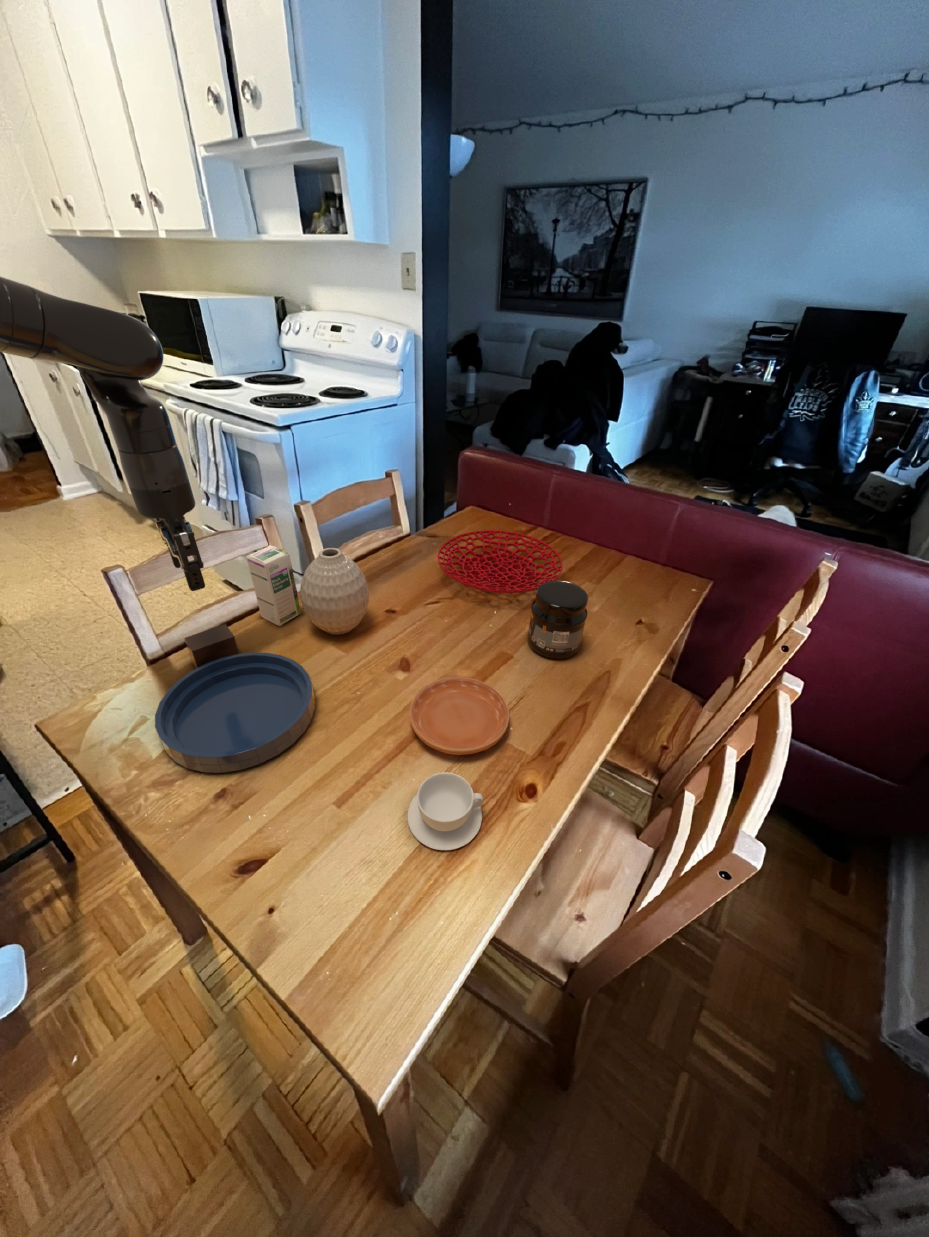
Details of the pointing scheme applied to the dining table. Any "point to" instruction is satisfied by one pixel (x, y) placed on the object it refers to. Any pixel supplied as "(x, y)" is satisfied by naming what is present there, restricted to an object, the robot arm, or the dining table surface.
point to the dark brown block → (211, 645)
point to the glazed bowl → (235, 712)
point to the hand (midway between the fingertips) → (189, 577)
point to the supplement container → (557, 619)
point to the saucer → (459, 715)
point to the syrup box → (274, 584)
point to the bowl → (499, 563)
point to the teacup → (445, 812)
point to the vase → (334, 592)
